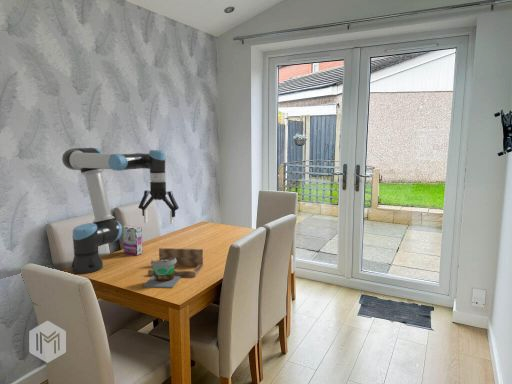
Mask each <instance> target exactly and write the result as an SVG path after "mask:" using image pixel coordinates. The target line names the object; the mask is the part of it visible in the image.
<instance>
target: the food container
mask: <svg viewBox="0 0 512 384" xmlns="http://www.w3.org/2000/svg"><path fill="white" fill-rule="evenodd" d="M176 262H177V260H176V257H175V259H170V260H168V259H163V260H159V259H158V260H153V259H151V261H150V266H152V269H153V272H154V279H155V280H156V281H158V282H166V281H170V280H172V279H174V273H175V270H176V269H175V268H176V265H175V263H176Z"/></svg>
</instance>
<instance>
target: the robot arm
mask: <svg viewBox="0 0 512 384" xmlns="http://www.w3.org/2000/svg"><path fill="white" fill-rule="evenodd" d="M61 157H62V158H61V159H62V160H61V161H62V163H63V166H65V167H66V169H68V170H72V171H80V173H81V175H82V176H84V179H85V182H86V187H87V191H88V195H89V199H90V203H91V209H92V211H93V216H94V219H93V221H92V222H91V223H90V222H89V223H88V222H87V223H83V224H80V225H78V226H75V227H74V228H73V230H72V237H71V238H72V242H73V243H72V244H73V245H72V246H73V259H72V263H71V273H74V274H83V275H84V274H90V273H94V272H98V271H99V270H101V269H103V267H104V263H103V261H102V258H101V256H100V254H99V253H100V252H99V247H101V246H104V245H107V244H110V243H111V244H112V243H115V242H116V241H118V240H119V239H120V238H121V236H122V234H123V226H122V224H121V223H120V221H118V220H116V217H115V216H113V215H112V212H111V209H110V204H109V200H108V194H107V191H106V187H105V183H104V178H103V174H102V173H104V171H105V170H113V171H119V172H120V171H126V170H139V169H144V170H145V169H149V179H150V180H149V181H150V182H149V188H150V190H148V189H146V190H144V191H143V197H142V198H141V201H140V203H139V205H138V207H137V208H138V209H140V210H142V211H141V212H142V214H141V215H142V216H143V220H144V221H143V222H144V223H145V224H146V223H148V222H149V213H148V212H149V210H148V207H149V206H150V204H151V203H152V202H153V201H158V200H159V201H163V202H164V203H165V205H167V207H168V208H169V209H170V211H169V219H170V220H169V224H170V225H173V224H174V221H175V220H174V218H175V217H176V211H177V210H179V209H180V207H179V205H178V203H177V201H176V199H175V197H174V195H173V191H172V190H169V191H167V185H166V184H167V182H166V180H167V177H166V176H167V175H166V152H165V150H164V149H152V150H151V149H150V150H149V153H142V152H141V153H140V152H134V153H104V152H103V151H102V150H101V149H99V148H95V147H73V148H69V149H67V150H66V151H64V153H63V154H62V156H61ZM149 195H150V197H149ZM166 195H167V196H166ZM148 197H149V199H148V200H147V198H148ZM168 198H169V199H168Z"/></svg>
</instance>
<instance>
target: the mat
mask: <svg viewBox="0 0 512 384" xmlns="http://www.w3.org/2000/svg"><path fill="white" fill-rule="evenodd" d="M181 278H182V277H181V276H179V275H174V279H172V280H170V281H166V282H158V281H156V280H155V279H154V275H153V276H151V277H150V278H149V279H148V280H147V281H146V282H145V283H144V284H143V285H142V288H158V289H159V288H160V289H164V288H165V289H166V288H167V289H172V288H174V286H175V285H176V284H177V283H178V281H179V280H180V279H181Z"/></svg>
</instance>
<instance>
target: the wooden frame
mask: <svg viewBox="0 0 512 384" xmlns="http://www.w3.org/2000/svg"><path fill="white" fill-rule="evenodd" d="M158 256H159V257H158V261H159V260H163V259H168V260H170V259H175V257H176V260H177V262H176V263H175V266H184V267H185V266H186V267H187V266H188V267H189V266H190V267H193V266H194V267H195V268H194V270H176V269H175V273H174V275H179V276H181V278H182V277H183V278H186V277H187V278H188V277H190V278H195V277H196V276H197V275H198V274H199V272H200V271H201V270H202V267H203V266H204V249H202V248H171V247H170V248H169V247H167V248H165V247H160V248H159V249H158ZM147 272H148V273H147V274H148V277H149V276H151V277H152V276H153V275H154V272H153V268H152V269H148V270H147Z"/></svg>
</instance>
